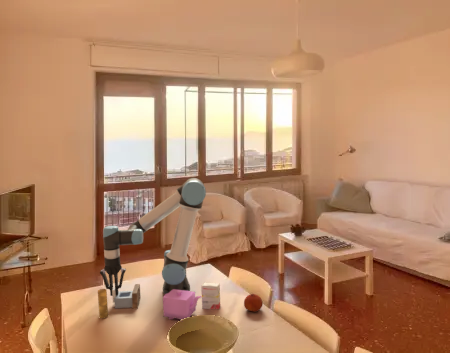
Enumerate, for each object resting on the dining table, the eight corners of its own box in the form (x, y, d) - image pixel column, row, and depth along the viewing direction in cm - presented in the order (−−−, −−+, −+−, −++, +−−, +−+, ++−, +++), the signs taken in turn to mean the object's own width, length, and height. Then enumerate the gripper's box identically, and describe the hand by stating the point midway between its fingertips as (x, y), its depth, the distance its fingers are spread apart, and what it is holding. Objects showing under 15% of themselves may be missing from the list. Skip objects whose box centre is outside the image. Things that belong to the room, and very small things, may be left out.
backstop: (140, 298, 197) (139, 283, 196) (137, 308, 185) (136, 293, 185) (135, 298, 197) (135, 284, 196) (132, 308, 185) (131, 293, 184)
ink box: (220, 305, 187) (220, 282, 185) (218, 309, 182) (218, 286, 181) (204, 304, 188) (203, 281, 187) (201, 308, 183) (201, 285, 182)
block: (135, 299, 196) (135, 290, 195) (133, 307, 187) (132, 297, 186) (118, 300, 195) (117, 291, 194) (114, 308, 186) (114, 298, 185)
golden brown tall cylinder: (108, 314, 180) (107, 288, 179) (107, 318, 176) (105, 291, 175) (100, 314, 180) (98, 289, 178) (98, 318, 176) (96, 292, 174)
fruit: (242, 313, 177) (241, 297, 177) (247, 305, 186) (247, 290, 185) (259, 316, 174) (259, 299, 174) (264, 307, 183) (264, 292, 182)
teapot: (159, 318, 174) (157, 293, 173) (169, 309, 184) (168, 284, 182) (198, 324, 168) (197, 298, 166) (206, 314, 177) (205, 289, 176)
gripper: (126, 253, 192) (128, 297, 194) (100, 255, 191) (103, 299, 193) (124, 258, 184) (126, 303, 187) (97, 259, 183) (100, 305, 186)
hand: (114, 301), depth 190 cm, fingers closed
